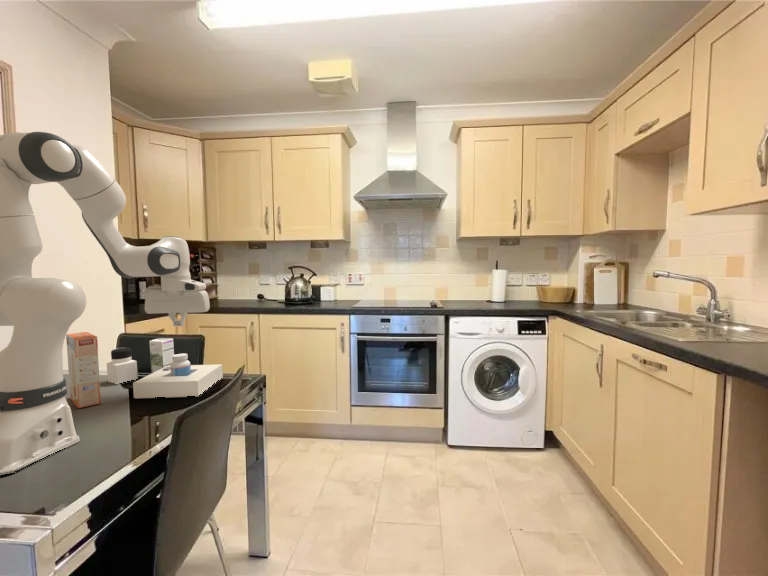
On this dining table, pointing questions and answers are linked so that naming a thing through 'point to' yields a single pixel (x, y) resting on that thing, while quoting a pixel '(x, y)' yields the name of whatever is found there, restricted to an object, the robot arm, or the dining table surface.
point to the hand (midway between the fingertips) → (178, 326)
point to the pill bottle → (180, 365)
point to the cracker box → (83, 369)
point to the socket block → (178, 382)
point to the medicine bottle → (121, 366)
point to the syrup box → (161, 353)
